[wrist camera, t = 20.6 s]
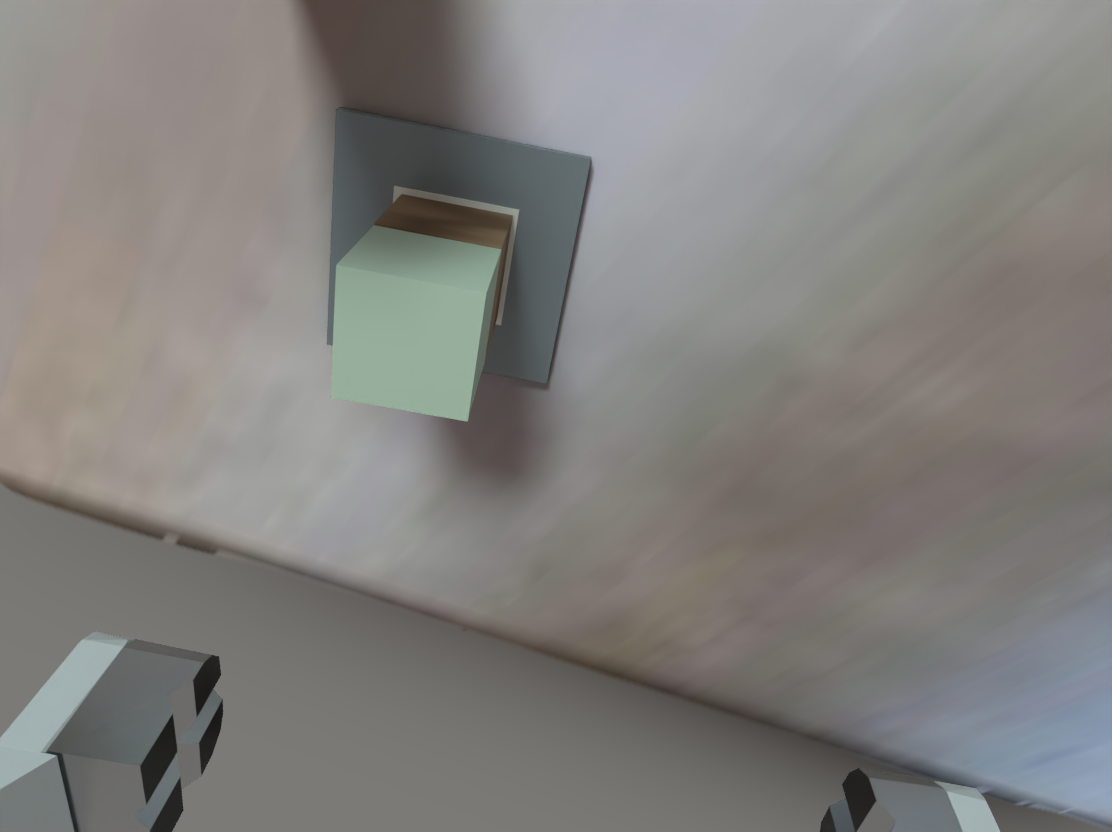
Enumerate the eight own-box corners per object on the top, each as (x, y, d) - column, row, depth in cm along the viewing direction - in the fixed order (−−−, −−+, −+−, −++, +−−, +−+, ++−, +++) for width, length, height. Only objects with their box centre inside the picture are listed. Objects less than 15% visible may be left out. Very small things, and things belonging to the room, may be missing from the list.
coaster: (590, 157, 33) (590, 160, 33) (547, 378, 39) (546, 384, 38) (340, 107, 33) (335, 109, 32) (330, 339, 38) (326, 345, 37)
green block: (501, 249, 30) (486, 293, 25) (484, 363, 32) (467, 421, 28) (373, 225, 29) (336, 264, 25) (365, 342, 32) (330, 397, 27)
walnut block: (513, 215, 34) (501, 247, 30) (497, 318, 36) (484, 362, 32) (401, 193, 34) (373, 223, 29) (392, 299, 36) (366, 340, 32)
